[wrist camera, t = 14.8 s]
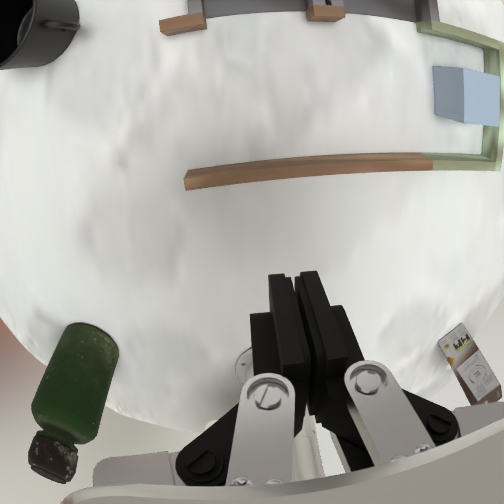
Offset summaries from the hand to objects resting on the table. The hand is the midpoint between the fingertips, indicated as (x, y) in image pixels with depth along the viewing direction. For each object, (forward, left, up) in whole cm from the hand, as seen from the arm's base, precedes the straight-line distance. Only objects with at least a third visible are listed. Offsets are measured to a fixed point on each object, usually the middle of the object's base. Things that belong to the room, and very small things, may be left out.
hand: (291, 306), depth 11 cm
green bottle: (-27, +30, -25) cm, 47 cm away
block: (+7, -25, -24) cm, 35 cm away
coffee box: (-39, -37, -25) cm, 59 cm away
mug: (+19, +20, -25) cm, 37 cm away
